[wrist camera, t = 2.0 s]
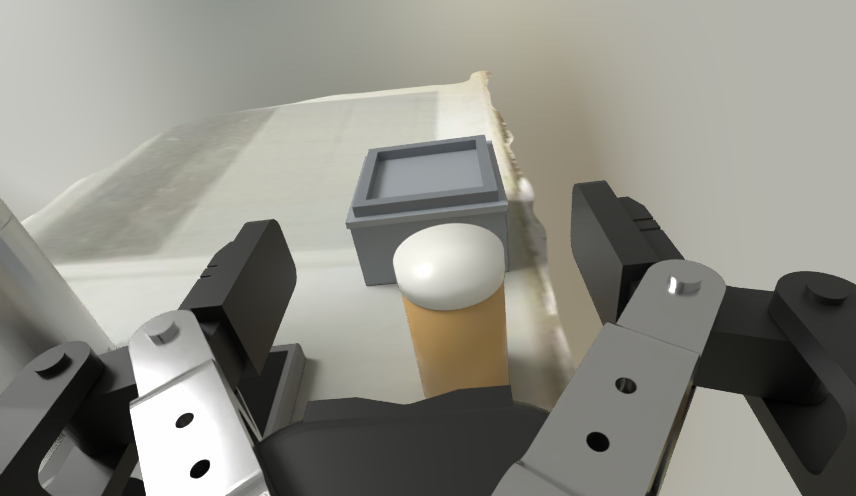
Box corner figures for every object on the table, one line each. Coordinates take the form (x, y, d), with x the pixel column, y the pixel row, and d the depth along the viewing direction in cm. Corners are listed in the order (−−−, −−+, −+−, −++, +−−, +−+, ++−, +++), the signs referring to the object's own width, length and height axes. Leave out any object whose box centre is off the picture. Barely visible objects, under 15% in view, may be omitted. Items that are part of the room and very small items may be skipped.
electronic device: (110, 362, 35) (299, 339, 35) (127, 382, 37) (308, 360, 36) (14, 500, 27) (261, 474, 26) (40, 520, 28) (275, 496, 27)
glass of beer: (420, 423, 29) (388, 295, 23) (422, 350, 35) (396, 229, 28) (516, 416, 29) (511, 283, 23) (504, 343, 34) (497, 218, 28)
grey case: (363, 287, 42) (342, 212, 37) (378, 212, 53) (363, 147, 48) (511, 272, 40) (507, 193, 36) (494, 199, 51) (490, 131, 47)
